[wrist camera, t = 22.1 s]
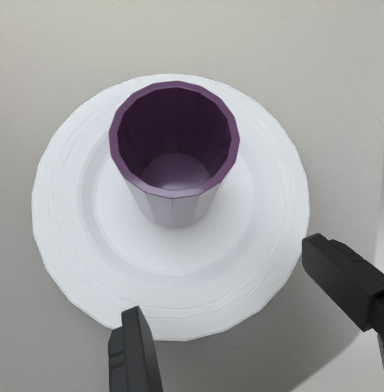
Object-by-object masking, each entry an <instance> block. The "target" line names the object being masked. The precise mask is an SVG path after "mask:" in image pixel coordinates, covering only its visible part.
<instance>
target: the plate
mask: <svg viewBox="0 0 384 392" xmlns="http://www.w3.org/2000/svg"><path fill="white" fill-rule="evenodd" d="M167 81H183V82H187V83H191V84H196V85H200V86H202V87H204V88H205V89H207V90H209V91H210V92H212V93H213V94H215V95H217V96H218V97H220V98H221V99H222V100H223V102H224V103H225V104H226V106H227V107H228V108H229V110H230V111H231V112H232V114H233V115H234V117H235V120H236V124H237V128H238V132H239V136H240V143H239V149H238V154H237V159H236V162H235V164H234V166H233V168H232V170H231V172H230V174H229V176H228V178H227V180H226V181H225V183H224V185H223V187H222V189H221V191H220V193H219V195H218V197H217V198H216V200H215V202H214V204H213V205H212V207H211V208H210V210H209V211H208V213H207V214H206V215H205V216H204V217H203V218H202V219H201V220H199V221H198V222H196V223H194V224H192V225H190V226H187V227H182V228H168V227H164V226H160V225H158V224H156V223H154V222H153V221H151V220H150V219H149V218H147V217H146V216H145V215H144V214H143V213H142V211H141V209H140V208H139V206H138V204H137V203H136V201H135V199H134V197H133V196H132V194H131V192H130V190H129V188H128V187H127V185H126V183H125V181H124V179H123V178H122V176H121V174H120V172H119V170H118V169H117V167H116V165H115V163H114V161H113V160H112V158H111V155H110V145H109V135H108V133H109V129H110V126H111V124H112V121H113V118H114V115H115V112H116V111H117V109H118V108H119V107H120V106H121V105H122V104H123V103H124V102H125V100H126V99H127V98H128V97H129V96H130V95H131V94H133V93H134V92H136V91H138V90H140V89H142V88H144V87H146V86H148V85H150V84H153V83H158V82H167ZM31 206H32V223H33V235H34V238H35V241H36V243H37V246H38V249H39V252H40V254H41V257H42V260H43V262H44V265H45V268H46V271H47V272H48V273H49V274H50V276H51V277H52V278H53V280H54V281H55V282H56V284H57V285H58V286H59V288H60V289H61V290H62V292H63V293H64V294H65V296H66V297H67V298H68V300H69V301H70V302H71V303H72V304H74V305H75V306H77V307H78V308H79V309H81V310H82V311H83V312H85V313H86V314H88V315H89V316H90V317H92V318H93V319H95V320H96V321H97V322H99V323H100V324H101V325H103V326H105V327H108V328H111V329H116V328H118V327H121V326H122V320H121V312H122V311H125V310H127V309H130V308H132V307H135V306H137V305H139V307H140V309H141V311H142V313H143V315H144V317H145V319H146V321H147V323H148V325H149V327H150V330H151V333H152V336H153V340H163V341H189V340H193V339H197V338H201V337H204V336H208V335H212V334H216V333H220V332H224V331H227V330H228V329H230V328H232V327H233V326H235V325H237V324H239V323H240V322H242V321H244V320H245V319H247V318H249V317H250V316H252V315H254V314H255V313H257V312H259V311H260V310H261V309H262V308H263V307H264V306H265V305H266V304H267V303H268V302H269V301H270V300H271V299H272V298H273V296H274V295H275V294H276V293H277V292H278V291H279V290H280V289H281V288H282V287H283V286H284V285H285V284H286V282H287V281H288V279H289V277H290V275H291V273H292V271H293V269H294V267H295V265H296V263H297V261H298V259H299V257H300V255H301V253H302V239H304V238H306V234H307V229H308V224H309V219H310V203H309V190H308V180H307V177H306V174H305V171H304V168H303V165H302V162H301V160H300V157H299V154H298V151H297V149H296V147H295V146H294V144H293V143H292V141H291V140H290V138H289V137H288V135H287V134H286V132H285V131H284V129H283V128H282V126H281V125H280V123H279V122H278V121H277V120H276V119H275V118H274V117H273V116H272V115H271V114H270V113H268V112H267V111H266V110H265V109H264V108H263V107H262V106H261V105H260V104H259V103H258V102H257V101H255V100H254V99H252V98H250V97H248V96H247V95H245V94H243V93H241V92H240V91H238V90H236V89H234V88H233V87H231V86H229V85H227V84H223V83H220V82H217V81H213V80H210V79H207V78H204V77H200V76H194V75H181V74H168V73H166V74H159V75H152V76H145V77H137V78H133V79H131V80H128V81H125V82H123V83H120V84H117V85H115V86H112V87H110V88H107V89H105V90H103V91H102V92H100V93H99V94H97V95H96V96H94V97H93V98H91V99H90V100H88V101H87V102H85V103H84V104H82V105H81V106H79V107H78V108H77V109H76V110H75V111H74V112H73V113H72V114H71V115H70V116H69V118H68V119H67V120H66V121H65V122H64V123H63V124H62V125H61V126H60V127H59V129H58V130H57V131H56V132H55V133H54V135H53V137H52V139H51V141H50V143H49V145H48V146H47V148H46V150H45V152H44V154H43V156H42V158H41V160H40V162H39V164H38V168H37V173H36V177H35V182H34V186H33V191H32V195H31Z"/></svg>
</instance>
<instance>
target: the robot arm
mask: <svg viewBox="0 0 384 392" xmlns="http://www.w3.org/2000/svg"><path fill="white" fill-rule="evenodd" d="M302 264H303V267H304V269H305V271H306V272H307V274H308V275H309V276H310V277H311V278H312V279H313V280H314V281H315V282H316V283H317V284H318V285H319V286H320V287H321V288H322V289H323V290H324V291H325V292H326V293H327V295H328V296H329V297H330V298H331V299H332V300H333V301H334V302H335V303H336V304H337V305H338V306H339V307H340V308H341V309H342V310H343V311H344V312H345V313H346V314H347V315H348V317H349V318H350V319H351V320H352V321H353V322H354V323H355V324H356V325H357V326H358V327H359V328H360V329H361V330H362V331H363V332H365V331H367V330H370V329H371V328H373V329H374V330H375V331H376V332H377V333H378V335H377V338H378V342H379V348H380V353H381V358H382V363H383V368H384V274H383V273H382V272H381V271H379V270H378V269H377V268H376V267H374V266H373V265H372V264H370V263H369V262H368V261H366V260H365V259H363V258H362V257H361V256H360V255H359V254H357V253H355V251H353V250H352V249H351V248H349V247H348V246H347V245H346V244H343V243H341V242H338V241H336V240H334V239H332V240H330V241H329V240H327V239H326V238H325V237H324V236H322V235H321V234H319V233H316V234H313V235H311V236H308V237H306V238H304V239H302ZM121 320H122V326H121V327H118V328H116V329H113V330H112V333H111V336H110V339H109V342H108V355H109V388H110V392H163V388H162V382H161V377H160V372H159V367H158V361H157V356H156V351H155V346H154V340H153V336H152V333H151V330H150V327H149V325H148V323H147V321H146V319H145V317H144V315H143V313H142V311H141V309H140V307H139V305H137V306H135V307H132V308H130V309H127V310H125V311H122V312H121Z"/></svg>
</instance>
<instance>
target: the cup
mask: <svg viewBox="0 0 384 392" xmlns="http://www.w3.org/2000/svg"><path fill="white" fill-rule="evenodd" d="M108 135H109V145H110V155H111V158H112V160H113V161H114V163H115V165H116V167H117V169H118V170H119V172H120V174H121V176H122V178H123V179H124V181H125V183H126V185H127V187H128V188H129V190H130V192H131V194H132V196H133V197H134V199H135V201H136V203H137V204H138V206H139V208H140V209H141V211H142V213H143V214H144V215H145V216H146V217H147V218H149V219H150V220H151V221H153V222H154V223H156V224H158V225H160V226H164V227H168V228H182V227H187V226H190V225H192V224H194V223H196V222H198V221H199V220H201V219H202V218H203V217H204V216H205V215H206V214H207V213H208V211H209V210H210V208H211V207H212V205H213V204H214V202H215V200H216V198H217V197H218V195H219V193H220V191H221V189H222V187H223V185H224V183H225V181H226V180H227V178H228V176H229V174H230V172H231V170H232V168H233V166H234V164H235V162H236V159H237V154H238V149H239V143H240V136H239V132H238V128H237V124H236V120H235V117H234V115H233V114H232V112H231V111H230V110H229V108H228V107H227V106H226V104H225V103H224V102H223V100H222V99H221V98H220V97H218V96H217V95H215V94H213V93H212V92H210V91H209V90H207V89H205V88H204V87H202V86H200V85H196V84H191V83H187V82H183V81H167V82H158V83H153V84H150V85H148V86H146V87H144V88H142V89H140V90H138V91H136V92H134V93H133V94H131V95H130V96H129V97H128V98H127V99H126V100H125V102H124V103H123V104H122V105H121V106H120V107H119V108H118V109H117V111H116V112H115V115H114V118H113V121H112V124H111V126H110V129H109V133H108Z"/></svg>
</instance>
